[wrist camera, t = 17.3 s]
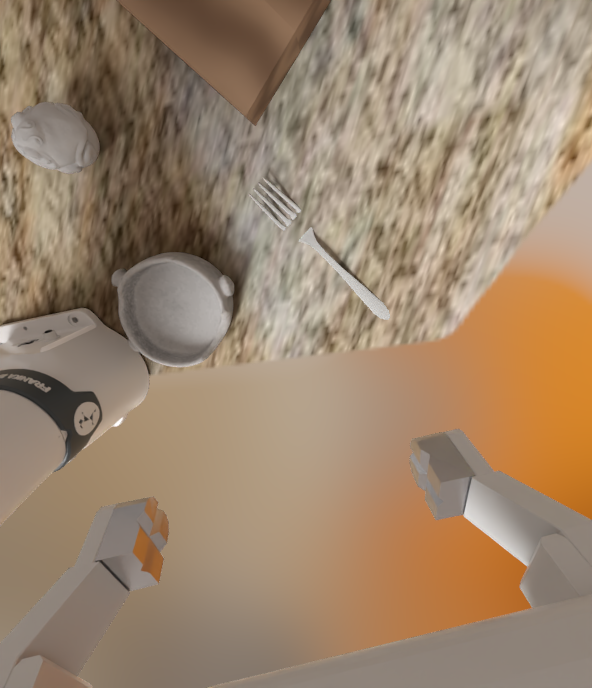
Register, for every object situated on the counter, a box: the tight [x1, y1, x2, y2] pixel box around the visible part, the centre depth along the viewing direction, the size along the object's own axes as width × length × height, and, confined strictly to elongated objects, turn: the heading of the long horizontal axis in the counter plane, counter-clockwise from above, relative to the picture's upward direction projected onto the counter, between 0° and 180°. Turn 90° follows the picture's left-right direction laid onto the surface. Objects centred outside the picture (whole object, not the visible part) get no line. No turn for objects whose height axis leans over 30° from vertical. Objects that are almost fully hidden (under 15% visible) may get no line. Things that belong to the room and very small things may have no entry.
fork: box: [249, 177, 390, 320], centre depth 37 cm, size 3×24×2 cm, turn 47°
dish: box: [112, 252, 234, 367], centre depth 40 cm, size 14×14×5 cm
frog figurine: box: [11, 102, 100, 174], centre depth 32 cm, size 6×7×7 cm
